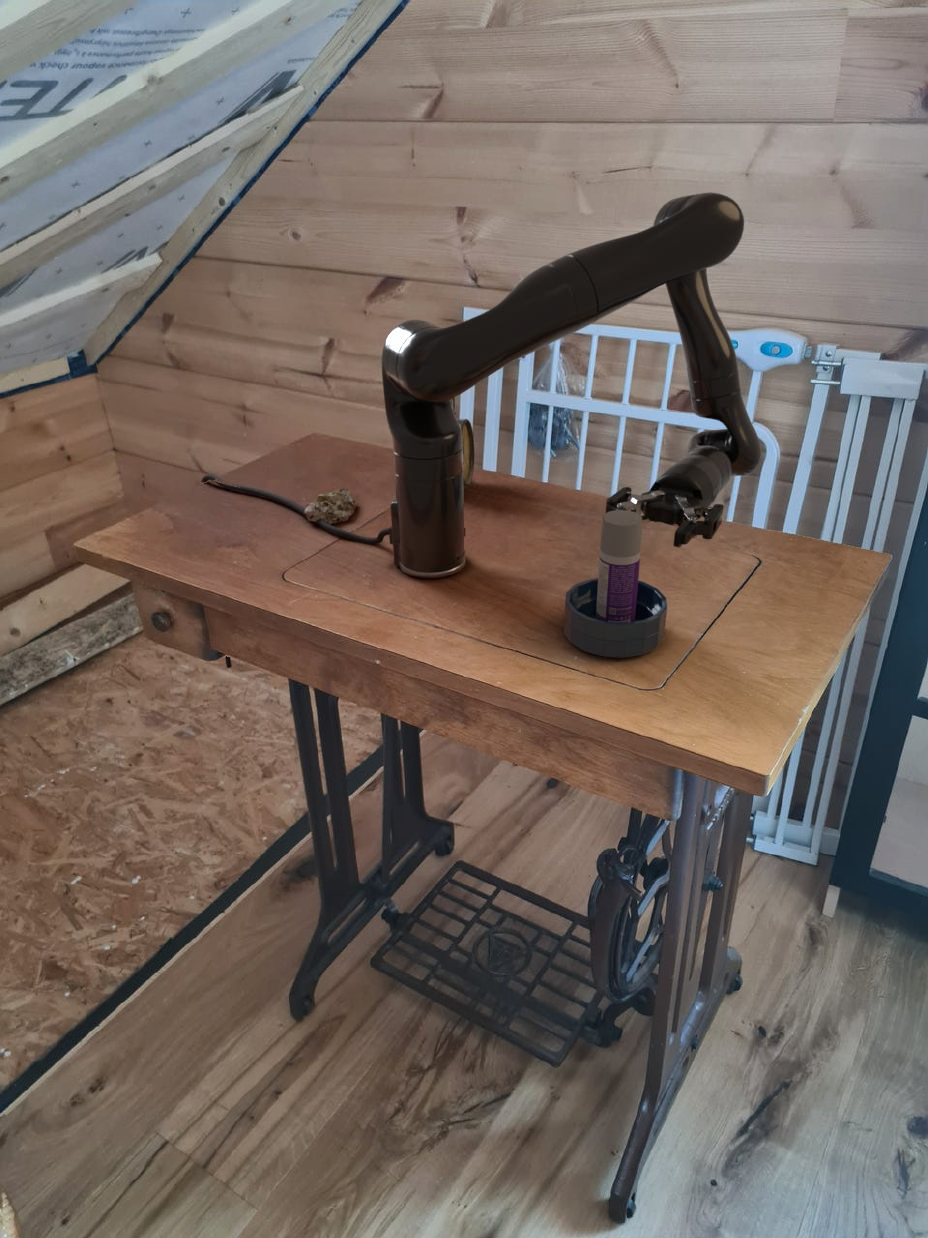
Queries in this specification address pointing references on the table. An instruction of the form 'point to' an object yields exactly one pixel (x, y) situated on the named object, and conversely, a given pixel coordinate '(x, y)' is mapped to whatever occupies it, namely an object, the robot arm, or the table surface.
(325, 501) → the mineral rock
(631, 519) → the container
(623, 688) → the table surface
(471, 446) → the alarm clock
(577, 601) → the bowl
